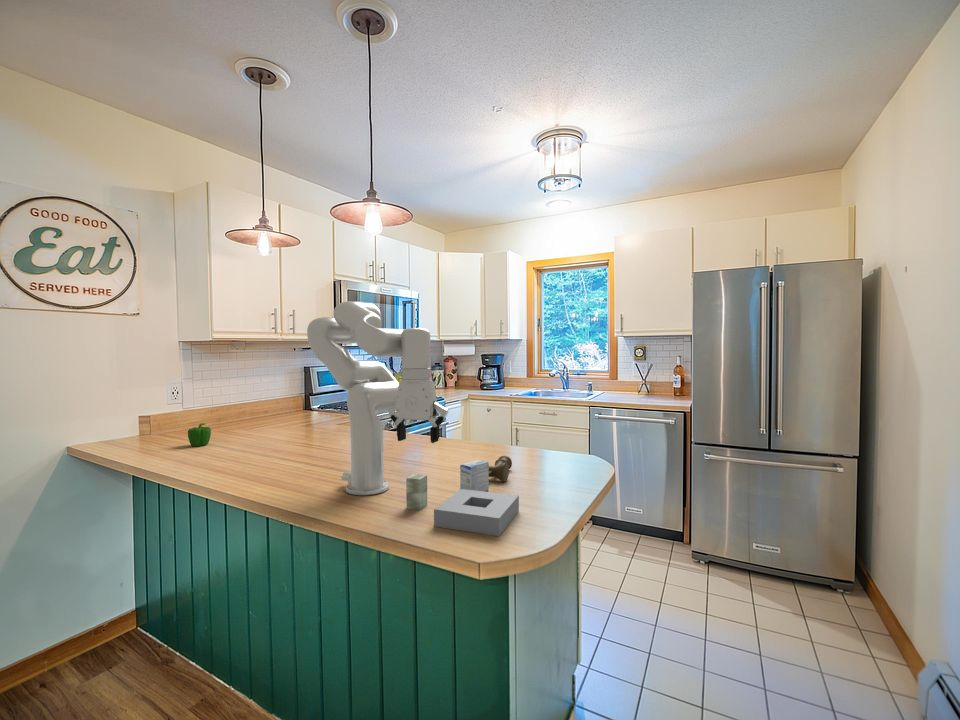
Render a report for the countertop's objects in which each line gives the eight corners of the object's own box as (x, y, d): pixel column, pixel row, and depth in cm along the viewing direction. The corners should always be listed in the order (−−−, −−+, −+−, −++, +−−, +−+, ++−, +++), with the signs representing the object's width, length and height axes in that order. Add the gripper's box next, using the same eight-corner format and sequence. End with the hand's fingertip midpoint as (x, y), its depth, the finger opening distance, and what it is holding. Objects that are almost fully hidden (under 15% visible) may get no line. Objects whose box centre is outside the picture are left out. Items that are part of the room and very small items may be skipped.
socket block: (434, 526, 101) (433, 509, 101) (461, 503, 116) (460, 488, 116) (499, 536, 96) (499, 518, 96) (518, 511, 111) (518, 495, 111)
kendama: (519, 472, 149) (500, 487, 130) (492, 470, 152) (470, 484, 134) (518, 454, 149) (500, 467, 130) (492, 453, 153) (470, 465, 134)
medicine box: (477, 487, 130) (477, 458, 130) (489, 490, 127) (489, 461, 127) (459, 494, 124) (459, 464, 124) (471, 497, 121) (471, 466, 121)
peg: (406, 508, 113) (406, 477, 113) (414, 503, 117) (413, 473, 117) (420, 510, 112) (419, 479, 111) (427, 505, 115) (427, 475, 115)
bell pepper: (183, 447, 188) (183, 424, 188) (200, 443, 196) (200, 421, 196) (197, 448, 186) (197, 424, 185) (215, 444, 193) (214, 422, 193)
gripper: (380, 376, 113) (381, 442, 113) (440, 376, 107) (441, 445, 107) (395, 375, 120) (396, 437, 120) (452, 374, 114) (454, 440, 114)
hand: (418, 441), depth 114 cm, fingers open, 9 cm apart
